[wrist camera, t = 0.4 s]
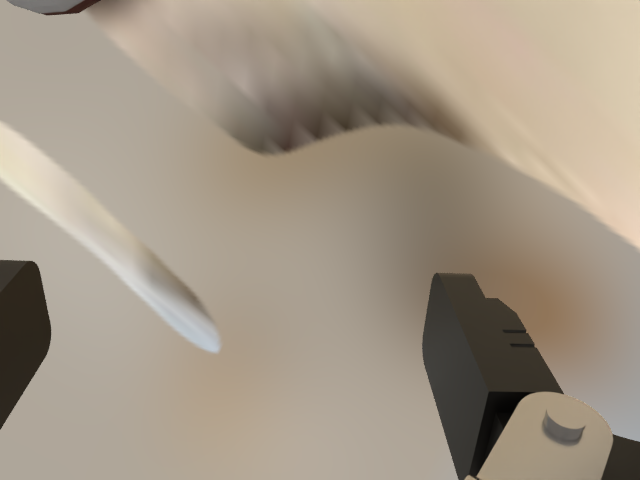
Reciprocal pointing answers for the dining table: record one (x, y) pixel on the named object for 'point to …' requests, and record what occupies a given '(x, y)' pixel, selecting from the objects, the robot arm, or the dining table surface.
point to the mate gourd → (54, 6)
